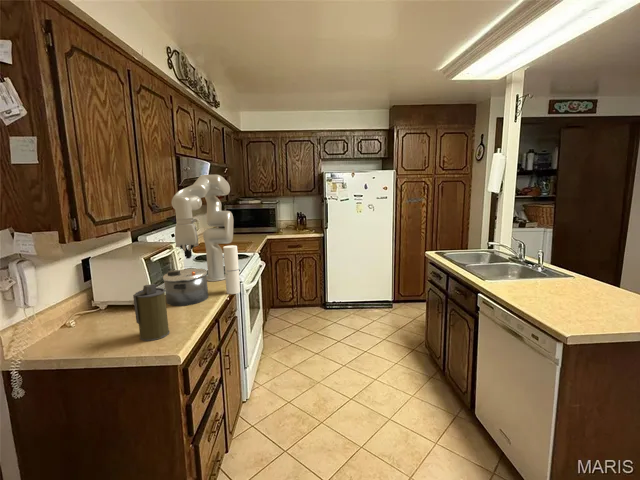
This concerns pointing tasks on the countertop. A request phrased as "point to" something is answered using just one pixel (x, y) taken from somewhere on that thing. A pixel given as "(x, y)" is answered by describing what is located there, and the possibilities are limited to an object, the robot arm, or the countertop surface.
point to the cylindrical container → (231, 269)
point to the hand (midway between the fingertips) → (188, 257)
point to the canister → (151, 313)
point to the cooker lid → (184, 275)
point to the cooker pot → (186, 292)
